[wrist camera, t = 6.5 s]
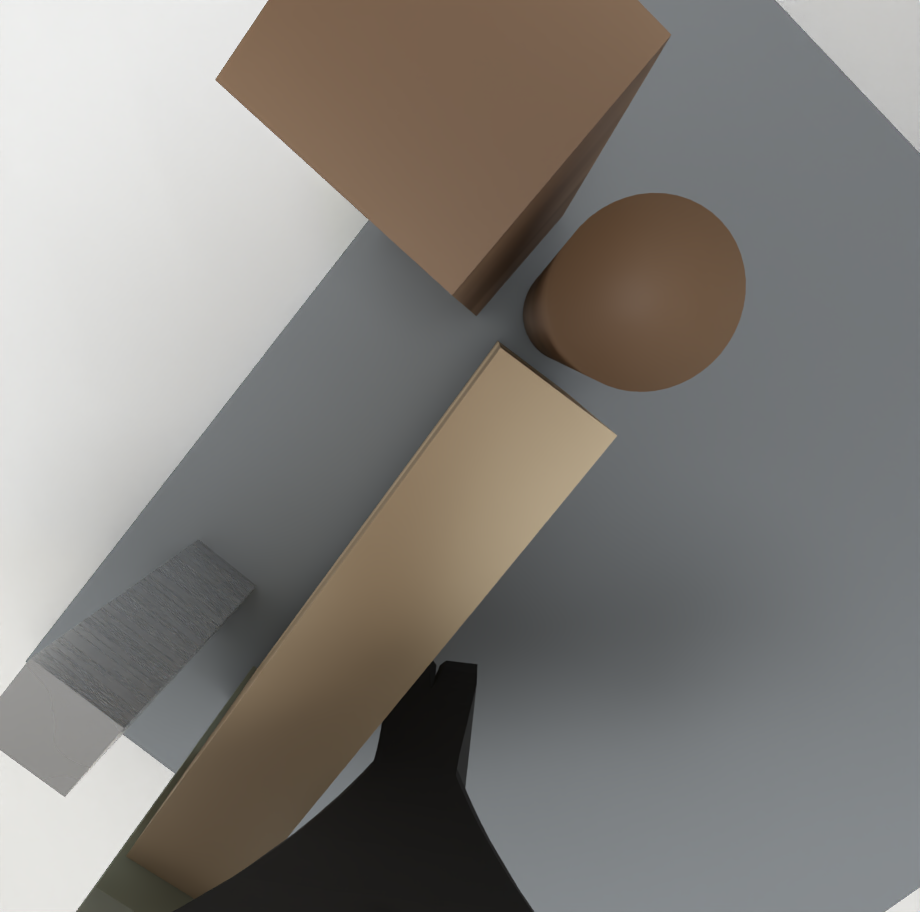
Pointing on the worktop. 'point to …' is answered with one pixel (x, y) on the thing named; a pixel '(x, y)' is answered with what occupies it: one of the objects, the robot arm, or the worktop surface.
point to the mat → (635, 515)
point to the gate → (438, 541)
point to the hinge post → (449, 114)
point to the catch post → (115, 665)
